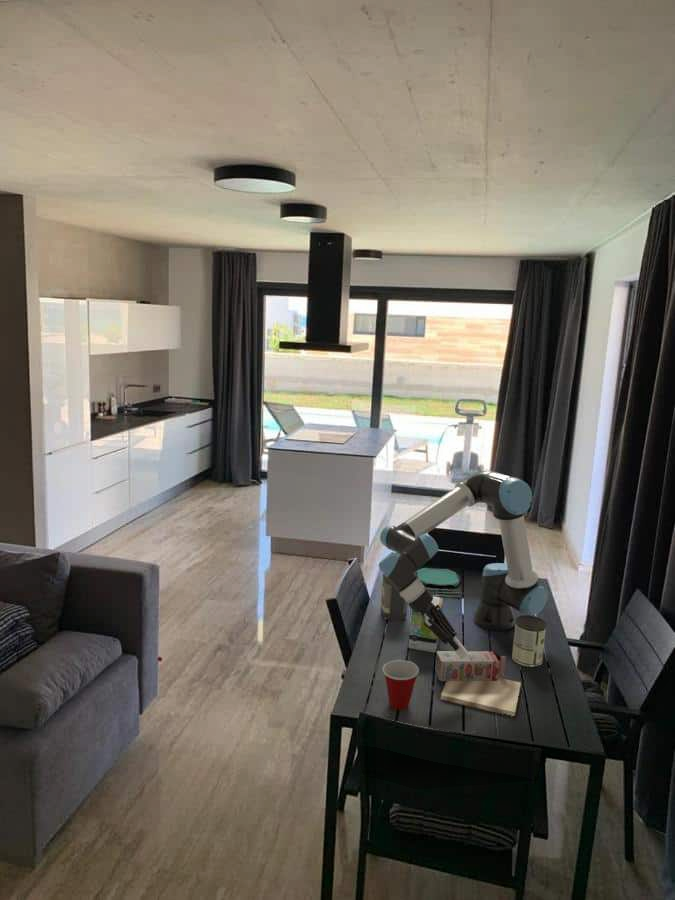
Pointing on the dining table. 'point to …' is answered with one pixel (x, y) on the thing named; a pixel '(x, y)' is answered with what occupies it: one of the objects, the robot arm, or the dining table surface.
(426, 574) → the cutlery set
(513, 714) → the cutting board
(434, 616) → the robot arm
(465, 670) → the juice carton
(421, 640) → the tea box
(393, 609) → the liquor
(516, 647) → the coffee can
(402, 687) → the plastic cup
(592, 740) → the dining table surface
